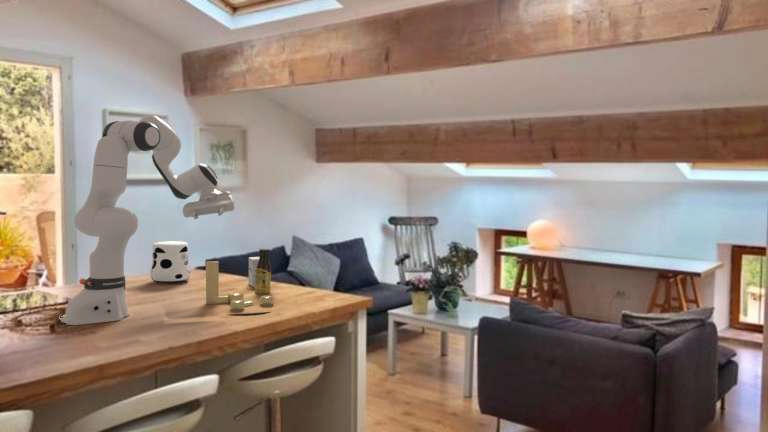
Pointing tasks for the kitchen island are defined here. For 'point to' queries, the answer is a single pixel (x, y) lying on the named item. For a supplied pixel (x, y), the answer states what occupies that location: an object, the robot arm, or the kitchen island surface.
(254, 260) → the supplement box
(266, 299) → the levelling plate
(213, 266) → the lever knob
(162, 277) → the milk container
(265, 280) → the sauce bottle
